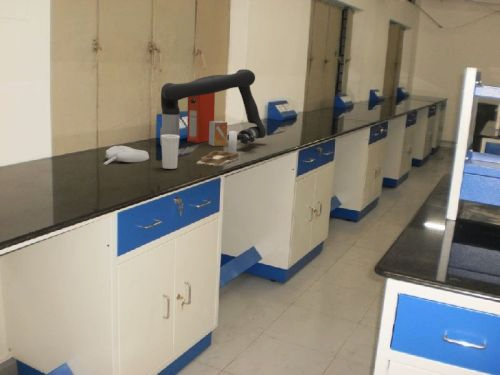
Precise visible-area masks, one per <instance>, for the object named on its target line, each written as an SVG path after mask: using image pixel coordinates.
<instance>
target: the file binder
mask: <svg viewBox="0 0 500 375" xmlns="http://www.w3.org/2000/svg"><path fill="white" fill-rule="evenodd" d="M215 96H216V94H215V93H211V94H205V95H198V96H190V97H187V138H186V139H187V142H188V141H190V142H189V143H193V142H194V143H193V144H201V143H204V142H209V123H210V121H215Z"/></svg>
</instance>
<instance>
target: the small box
mask: <svg viewBox="0 0 500 375" xmlns="http://www.w3.org/2000/svg"><path fill="white" fill-rule="evenodd" d="M227 135H228V122H227V121H223V120H214V121H210V123H209V141H208V145H211V146H213V147H218V146H220V147H221V146H225V147H226V146H227V142H228V140H227Z"/></svg>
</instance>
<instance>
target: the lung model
mask: <svg viewBox="0 0 500 375" xmlns="http://www.w3.org/2000/svg"><path fill="white" fill-rule="evenodd" d="M105 158H106V159H107V160H106V161H104V162H103V166H108V165H109V164H110V163H112V162H115V161H116V162H117V161H118V162H123V163H140V162H142V163H143V162H146V161H148V160H149V159H150V156H149V152H147V151H146V150H143V149H142V150H141V149H135V148H133V147H129V146H125V145H114V146H111V147H109V148H108V149H107V150H105Z"/></svg>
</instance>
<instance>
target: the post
mask: <svg viewBox="0 0 500 375" xmlns="http://www.w3.org/2000/svg"><path fill="white" fill-rule="evenodd" d="M237 134H238V131H237V130H229V131H228V135H229V141H228V151H227V152H232V153H237V146H238V145H237V144H238V143H237V142H238V141H237Z"/></svg>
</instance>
